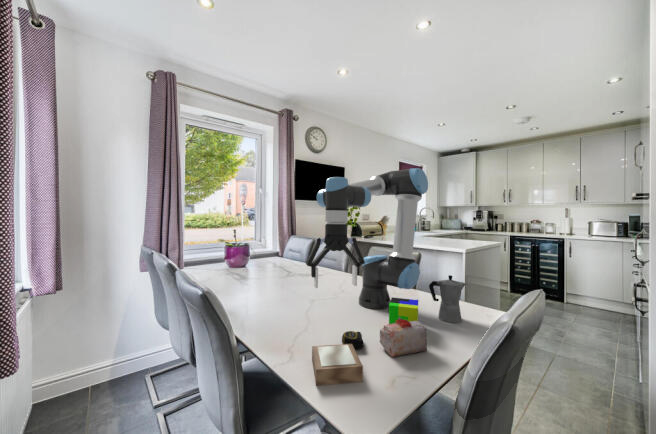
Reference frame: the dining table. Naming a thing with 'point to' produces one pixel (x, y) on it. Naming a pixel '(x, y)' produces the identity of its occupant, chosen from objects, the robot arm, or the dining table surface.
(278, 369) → the dining table surface
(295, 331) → the dining table surface
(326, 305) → the dining table surface
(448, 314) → the coffeepot
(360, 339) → the tape measure
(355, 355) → the base block
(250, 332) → the dining table surface
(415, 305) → the puzzle toy
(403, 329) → the food item
